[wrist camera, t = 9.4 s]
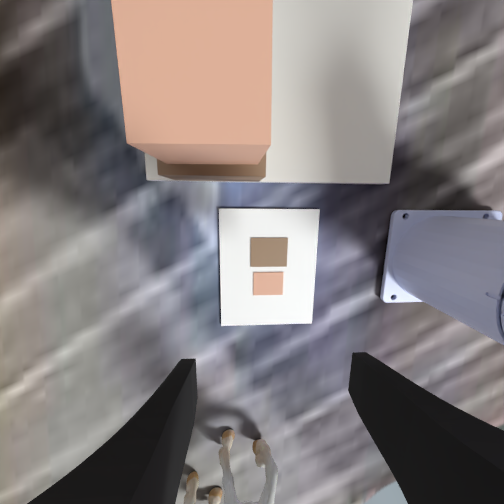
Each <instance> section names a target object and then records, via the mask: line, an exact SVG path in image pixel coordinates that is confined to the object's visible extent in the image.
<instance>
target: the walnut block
mask: <svg viewBox="0 0 504 504" xmlns="http://www.w3.org/2000/svg"><path fill="white" fill-rule="evenodd" d="M157 170H158V175H160V176H163V177H166V178H169V179H173V180H183V181H250V182H259V181H260V180H262V179H263V178H265V177H266V153H265V155H264V156H263V158H262V159H261V161H260V162H259V164H258V165H255V164H166V163H164V162H162V161H160V160H158V159H157Z"/></svg>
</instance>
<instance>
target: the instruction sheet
mask: <svg viewBox="0 0 504 504" xmlns="http://www.w3.org/2000/svg"><path fill="white" fill-rule="evenodd" d="M319 213H320V209H219V236H220V285H221V326H234V325H269V324H305V323H312V313H313V299H314V284H315V270H316V256H317V242H318V227H319Z"/></svg>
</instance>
